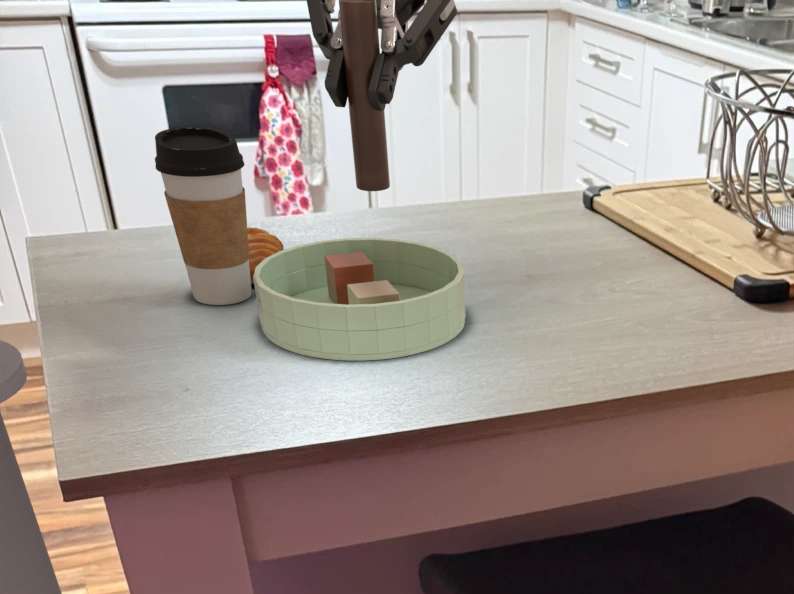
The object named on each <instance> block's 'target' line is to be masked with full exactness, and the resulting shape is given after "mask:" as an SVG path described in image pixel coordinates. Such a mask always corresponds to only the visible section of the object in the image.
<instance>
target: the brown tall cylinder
mask: <svg viewBox="0 0 794 594" xmlns="http://www.w3.org/2000/svg"><path fill="white" fill-rule="evenodd" d="M338 8H339V9H340V19H341V30H342V40H343V51H344V61H345V72H346V82H347V93H348V98H347V101H348V102H347V104H348V111H349V112H348V113H349V123H350V132H351V144H352V154H353V155H352V156H353V167H354V175H355V186H356V189H358V190H360V191H365V192H382V191H385V190H388V189H390V187H391V182H390V181H391V180H390V169H389V156H388V155H389V154H388V141H387V127H386V116H385V115H386V114H385V110H384V111H379V110H375V109H374V108H373V106H372V104H371V102H370V100H369V98H368V89H369V85H370V81H371V76H372V72H373V68H374V63H375V59H376V55H377V53H381V46H380V36H379V35H380V34H379V29H378V21H377V7H376V0H338ZM339 9H338V10H339Z"/></svg>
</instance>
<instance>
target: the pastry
mask: <svg viewBox="0 0 794 594" xmlns="http://www.w3.org/2000/svg"><path fill="white" fill-rule="evenodd" d="M247 233H248V249H249V268H250V279H251V285H252V284H253V285H254V279H253V276H254V271H255V268H256V266H258V265H259V264H260V263H261V262H262V261H263V260H264V259H265V258H267V257H269V256H271V255H273V254H275V253H277V252H279V251H282V250H284V244H283V242H282V241H281V240H280V239H279V238H278V237H277V236H276V235H274V234H270V232H269V231H267V230H265V229H262V228H258V227H247Z"/></svg>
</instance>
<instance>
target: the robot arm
mask: <svg viewBox="0 0 794 594" xmlns="http://www.w3.org/2000/svg"><path fill="white" fill-rule="evenodd" d="M306 5H307V10H308V15H309V23H310V27H311V33H312V36H313V38H314V41H315V42H316V44H317V46H318V47H319V49H320V51H321V53H322V55H323V56H324V58H325V59H326V60H329V61H328V66H327V69H326V74H325V78H324V82H323V83H324V89H325V90H326V92H327V94H328V96H329V98H330V99H331V101H332V103H333V104H334V106H335V107H336V108H346V106H347V103H348V102H347V101H348V93H347V82H346V72H345V61H344V51H343V40H342V30H341V19H340V9H338V12H337V18H338V19H337V25H336V27H335V29H334V26H333V21H332V17H331V14H334V13H335V6H336V0H306ZM376 7H377V21H378V30H381V35H380V50H381V51H380V53H377V55H376V59H375V63H374V68H373V72H372V76H371V81H370V85H369V89H368V98H369V100H370V102H371V104H372V106H373V108H374V109H375V110H379V111H384V112H385V109H386V106H387V105H390V104H391V102H392V100H393V98H394V94H395V91H396V85H397V82H398V77H399V73H400V71H402V70H403V68H404V66H406V65H410V64H412V65H413V66H414V67H421V66H422V65H423V64H424V63H425V61H426V60H427V59H428V57H429V56H430V54H431V53H432V52H433V50H434V49H435V47H436V45H437V44H438V42H439V41H440V39H441V38H442V37H443V35H444V34H445V32H447V31H446V30H448V28H449V26H450V25H451V24H452V22H453V20H454V19H455V18H456V16H457V14H458V8H457V6H456V2H455V0H376ZM419 10H420V11H419ZM418 11H419V13H418ZM416 13H418V14H417V15H416V17H415V19H413V21H412V22H411V24H410V26H409V21H410V19H412V18H413V17H414V16H415V14H416Z"/></svg>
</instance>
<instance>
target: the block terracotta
mask: <svg viewBox="0 0 794 594" xmlns="http://www.w3.org/2000/svg"><path fill="white" fill-rule="evenodd" d="M325 266H326V275H327V284H328V293H329V297H330V298H331V299H332V301H333V302H334V304H345V305H349V300H348V290H347V285H348V284H356V283H365V282H374V269H373V263H372V262H371V261H370V260H369V259H368V258H367V257H366V255H365V254H364V253H363V252H358V253H348V254H339V255H329V256H325Z"/></svg>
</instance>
